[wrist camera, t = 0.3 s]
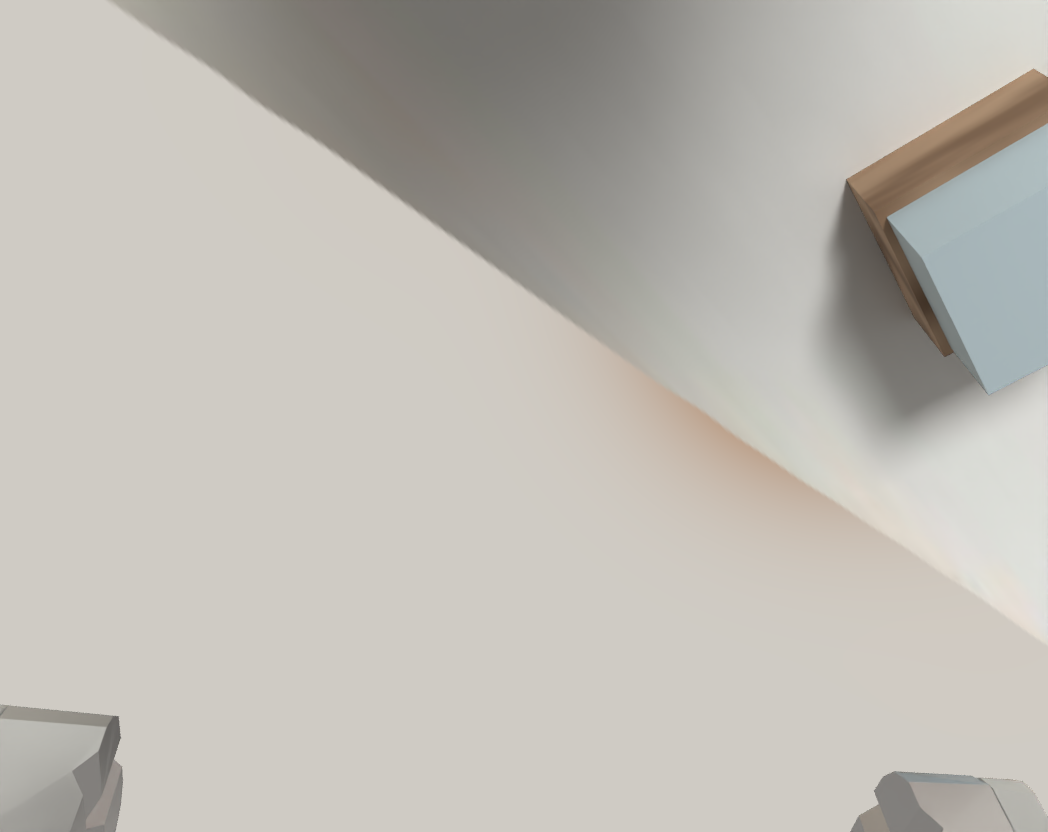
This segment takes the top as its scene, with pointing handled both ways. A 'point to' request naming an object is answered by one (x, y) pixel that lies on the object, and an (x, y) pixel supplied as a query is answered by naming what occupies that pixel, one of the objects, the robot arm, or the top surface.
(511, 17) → the top surface
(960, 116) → the tower base block
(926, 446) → the top surface
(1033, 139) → the tower top block
